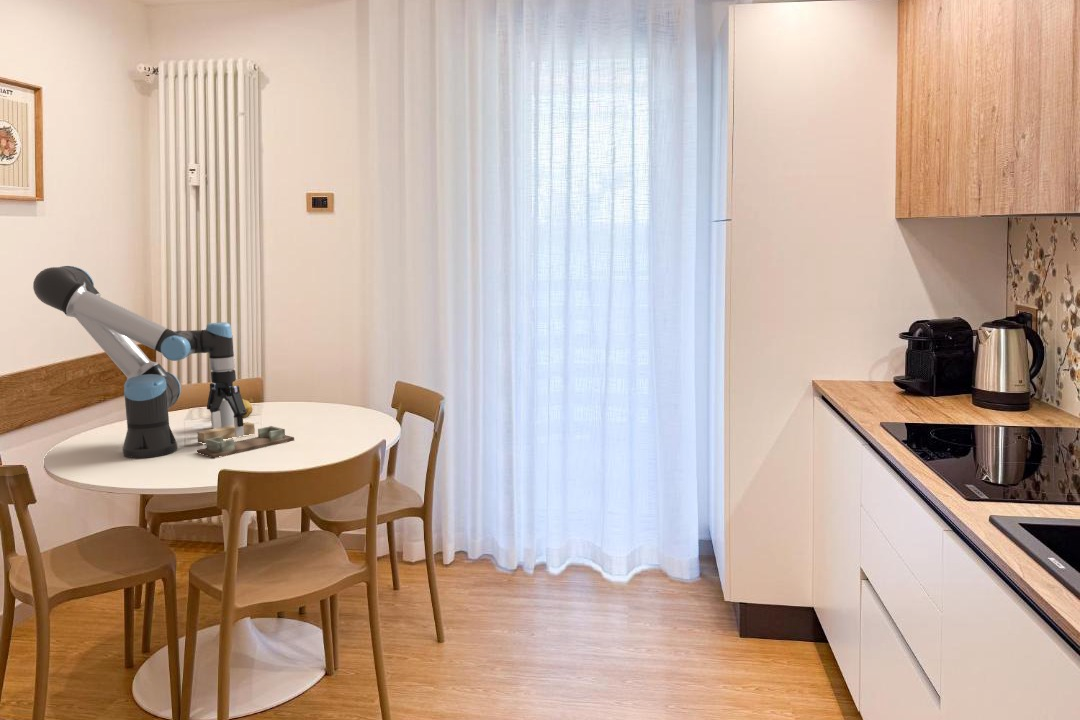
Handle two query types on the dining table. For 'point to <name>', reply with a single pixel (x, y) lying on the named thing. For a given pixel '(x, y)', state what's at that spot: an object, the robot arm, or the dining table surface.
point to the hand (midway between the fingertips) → (228, 433)
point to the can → (225, 414)
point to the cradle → (245, 442)
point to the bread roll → (247, 407)
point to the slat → (224, 432)
